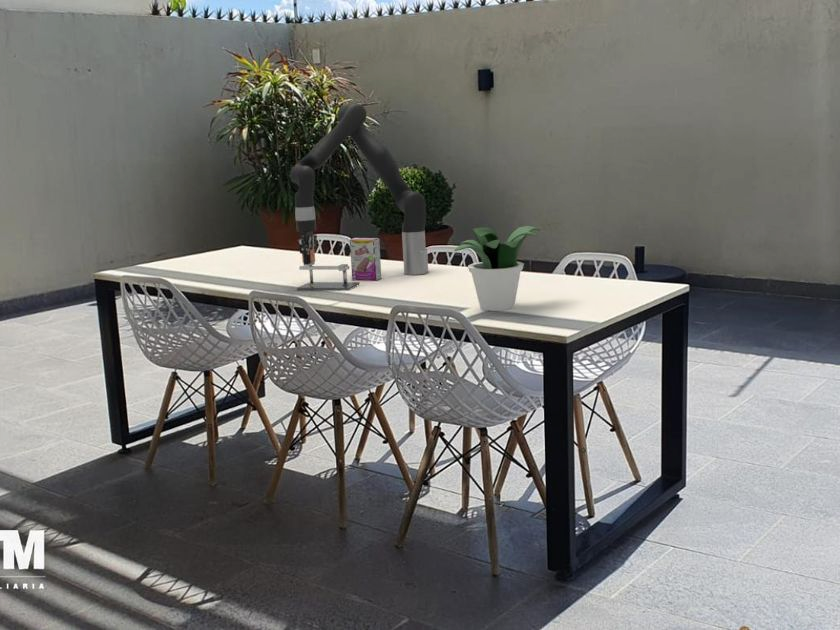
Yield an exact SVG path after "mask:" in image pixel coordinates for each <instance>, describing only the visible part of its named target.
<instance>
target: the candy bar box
mask: <svg viewBox="0 0 840 630" xmlns="http://www.w3.org/2000/svg"><path fill="white" fill-rule="evenodd" d="M380 243H381V242H380V238H377V237H373V238H372V237H371V238H370V237H353V238H350V239H349V248H350V249H349V250H350V251H349V252H350V263H351V265H350V267H351V279H356V280H357V281H379V280H381V279H382V267H381V266H382V263H381V250H380V249H381V247H380V246H381V245H380Z"/></svg>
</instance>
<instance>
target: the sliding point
mask: <svg viewBox="0 0 840 630" xmlns="http://www.w3.org/2000/svg"><path fill="white" fill-rule="evenodd" d="M315 253H316V252H315V250H314V249H309V260H310V264H304V260H303V255H302V254H301V256H302V257H301V259H302V264H303V266H315V265H316V264H315V263H316V254H315ZM308 271H309V282H310V284H313V282H314V273H313V270H308Z"/></svg>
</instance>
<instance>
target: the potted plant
mask: <svg viewBox="0 0 840 630" xmlns="http://www.w3.org/2000/svg"><path fill="white" fill-rule="evenodd" d="M471 231H472V234H474V236H475V238H476V240H477V241H476V240H474V239H468V240H465V241H462V242H460V243H459V246H456V248H454V250H453V251H454V252H457V251H460V250H465V249H471V250H472V251H474V252H475V253H476V254H477V255H478V257H479V258H480V259H481V262H479V261H478V262H474V263H471V264H469V265H467V269H468V271H469V273H471V275H472V280H473V284H474V288H475V292H476V296H477V300H478V304H479V309H481V310H484V311H488V310H489V312H490V311H491V312H493V311H494V312H496V311H507V310H512V309H514V308H515V305H516V300H517V299H516V298H517V293H518V288H519V281H520V275H521V271H523V269H524V265H525V263H523V262H521V261H518V255H519V252H520V251H519V250H520V248H521V247H522V244H523V242H524V240H525V239H526V238H527V237H528V236H533V237H538V235H537V234H536V233H533V232H532V231H536V232H541V229H540V228H539V227H536V226H530V225H528V226H527V225H525V226H520V227H518V228H517V229H516V230H515V229H514V231H513V232H512V233H511V234H510V236H509V237H507V240H506V241H503V242H501V239H499V237H498V235H497V233H496V232H495V230H494V229H493V228H490V227H475V228H472V230H471Z"/></svg>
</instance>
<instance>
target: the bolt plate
mask: <svg viewBox="0 0 840 630" xmlns="http://www.w3.org/2000/svg"><path fill="white" fill-rule="evenodd" d="M298 269H299V270H301V271H302V270H303V271H307V270H308V271H309V270H312V271H313V270H315V271H316V270H322V271H323V270H324V271H325V270H328V271H329V270H332V271H334V270H337V271H339V272H342V278H343V279H342V280H343V281H338V282H337V281H336V282H335V281H327V282H326V281H325V282H324V281H313V284H310V281H309V282H307V283H305V284H302V285H300V286H298V287H296V289H297V291H341V290H349V291H350V289H351V288H353V287H354V288H356V287H358V286H360V285H361V284H360V282H358V281H357V282H356V281H352V282H351V281H348V275H347V273H348V272H347V270H350V265H348V263H341V264H339V265H312V266H304V265H299V267H298ZM359 284H360V285H359ZM357 285H358V286H357ZM355 286H356V287H355ZM354 288H353V289H354ZM351 290H352V289H351Z"/></svg>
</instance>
